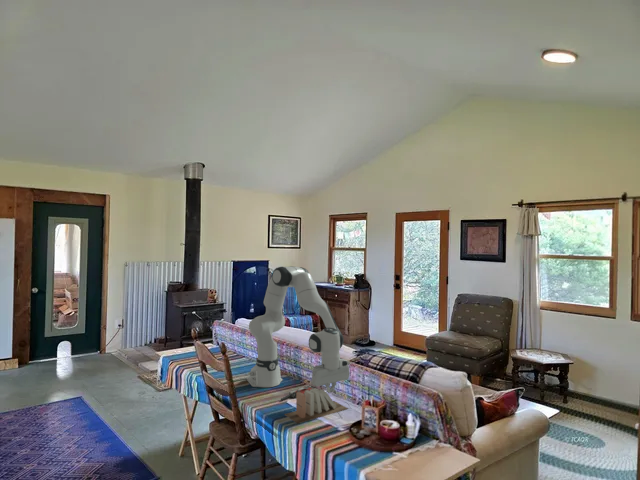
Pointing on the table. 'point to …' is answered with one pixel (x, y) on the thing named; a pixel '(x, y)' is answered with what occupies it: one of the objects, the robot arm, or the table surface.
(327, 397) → the domino
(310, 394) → the domino
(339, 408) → the board
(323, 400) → the domino
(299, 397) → the domino
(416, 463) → the table surface
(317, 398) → the domino
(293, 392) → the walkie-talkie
